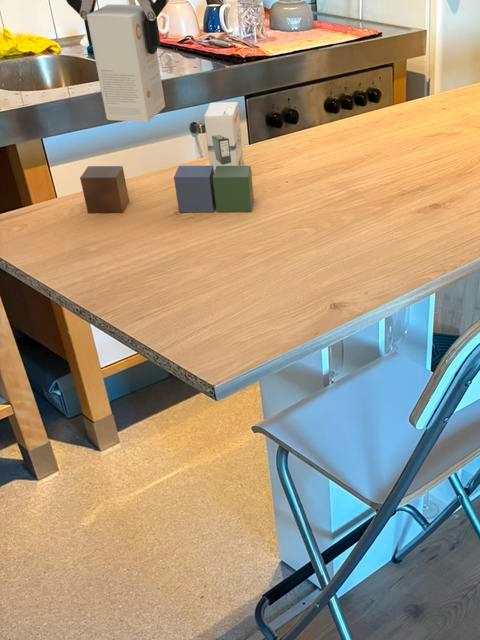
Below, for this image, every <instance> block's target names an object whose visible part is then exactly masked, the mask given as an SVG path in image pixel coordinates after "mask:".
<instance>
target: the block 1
mask: <svg viewBox="0 0 480 640" xmlns="http://www.w3.org/2000/svg"><path fill="white" fill-rule="evenodd" d="M79 180H80V184H81V188H82V193H83V197H84V201H85V206H86V210H87V213H88V214H119V213H120V214H122V213H123V214H124V211H125V210H126V207H127V205H128V204H129V202H130V198H129V192H128V187H127V182H126V177H125V172H124V167H123V165H98V166H97V165H88V166H87V167H86V168H85V170H84V171H83V173H82V174H81V176H80V177H79Z"/></svg>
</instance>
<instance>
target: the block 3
mask: <svg viewBox="0 0 480 640" xmlns="http://www.w3.org/2000/svg"><path fill="white" fill-rule="evenodd" d="M213 184H214V192H215V200H216V206H215V209H216V212H217V213H252V210H253V204H254V201H255V199H254V198H255V197H254V188H253V187H254V186H253V176H252V166H251V165H244V166H216V169H215V172H214V175H213Z"/></svg>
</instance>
